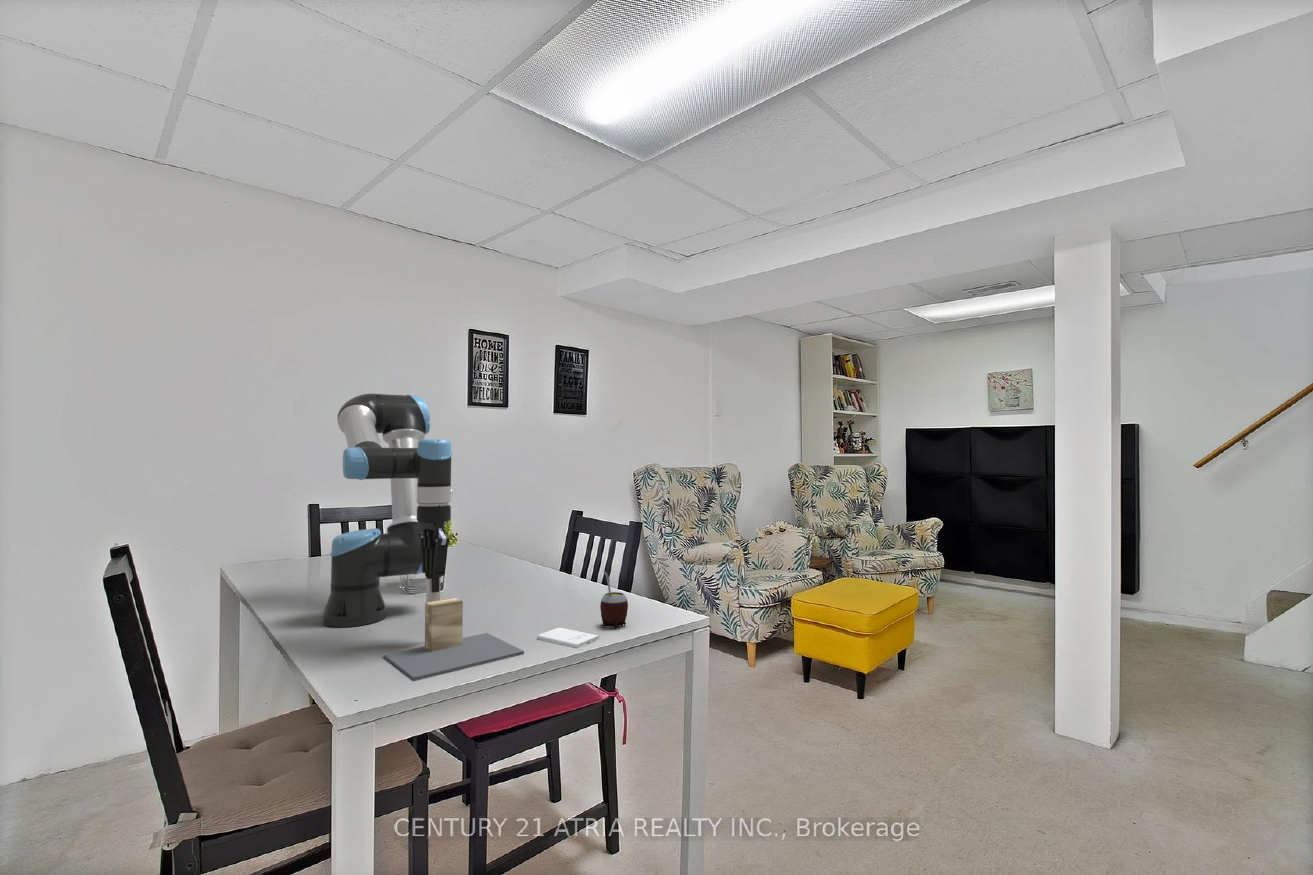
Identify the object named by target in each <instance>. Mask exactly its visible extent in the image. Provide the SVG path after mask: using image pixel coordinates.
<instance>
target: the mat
mask: <svg viewBox="0 0 1313 875" xmlns="http://www.w3.org/2000/svg"><path fill="white" fill-rule="evenodd" d="M524 654H525V650H524V649H521V648H519V647H517V646H515V645H512V644H511V643H509V642H506V641H505V640H502V639H501V638H499V637H496V636H494V635H493V634H490V633H488V632H485V633H480V634H475V635H469V636H466V637H462V645H460V646H455V647H451V648H446V649H442V650H437V651H432V652H431V651H430V650H428V649H427V648H425V645H422V646H418V647H417V646H416V647H414V648H408V649H404V650H398V651H393V652H389V653H384V654H383V658H384V659H385V660H387V662H389V663H390V664H391V665H393V666H395V668H397V669H398V670H399V671H401V672H402V673H404V675H406V676H407V677H409V678H410V679H411V680H413V681H418V680H423V679H427V678H430V677H436V676H439V675H443V674H447V673H451V672H455V671H460V670H463V669H467V668H471V667H476V666H479V665H483V664H488V663H491V662H492V663H493V662H496V661H499V660H504V659H508V658H512V657H516V656H520V655H524Z"/></svg>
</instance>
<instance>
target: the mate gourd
mask: <svg viewBox="0 0 1313 875" xmlns="http://www.w3.org/2000/svg"><path fill="white" fill-rule="evenodd" d="M603 574H604V575H605V577H606V578H605V579H606V584H607V589H608V592H607V593H604V595H603V596H602V597H601V600H600V606H599V608H600V617H601V621H602V624H601V627H602V626H603V627H602V628H607V627H606V626H611V627H613V626H614V627H615V628H620V626H618V625H621V626H624V625H623V624H626V625H627V622H626V619H627V616H628V610H629V603H628V597H627V596H626V594H624V593H623V592H617V591H615V592H613V591H612V590H611V584H610V576H609V575H608V573H607V572H606V570H603ZM611 591H612V592H611ZM614 627H613V628H614ZM615 628H614V629H615Z"/></svg>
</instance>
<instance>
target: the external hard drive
mask: <svg viewBox="0 0 1313 875" xmlns="http://www.w3.org/2000/svg"><path fill="white" fill-rule="evenodd" d="M600 637H601V636H600V635H598V634H592V633H587V632H584V631H583V632H582V631H578V630H573V629H569V628H568V629H567V628H564V627H555V628H554V629H551V630H549V631H545V632H542V633H540V634H538V635H537V640H538V639H539V640H538V641H543V642H547V641H550V642H549V643H552V642H553V644H556V643H558V644H557V645H561V644H565V645H569V646H568V647H570V646H572V647H571V648H575V647H576V648H575V649H579V647H580V646H582V645H584V644H587V643H588V644H590V643H589V642H591V641H594V642H596V641H598V640H599V639H598V638H600ZM597 639H598V640H597ZM600 639H601V638H600ZM595 640H596V641H595ZM591 643H592V642H591ZM588 644H587V645H588ZM565 645H564V646H565ZM584 646H585V645H584ZM582 647H583V646H582ZM580 648H581V647H580Z"/></svg>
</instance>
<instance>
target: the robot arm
mask: <svg viewBox="0 0 1313 875" xmlns="http://www.w3.org/2000/svg"><path fill="white" fill-rule="evenodd" d="M336 421H337V424H338V425H337V426H338V428H339V430H340V431H341V432H342V433H343V434H344V436H345V440H346V444H347V448H345V449H344V450H343V455H342V475H343V477H344V478H345V479H348V480H359V481H364V480H384V479H385V480H386V479H388V480H390V493H391V494H390V495H391V513H392V514H391V516H392V517H391V518H392V522H391V523H390V524H389V525H388V526H387V528H386V533H382V531H381V530H380V529H379V528H369V529H368V528H365V529H358V530H353V531H352V530H351V531H348V532H344V533H342V534H339V535H336V536H335V537H334V538H333V539H332V541H331V552H330V557H331V562H330V563H331V564H330V571H331V572H330V593H329V597H328V599H327V602H326V604H325V607H324V609H323V614H322V624H323V625H324V626H328V627H333V628H334V627H335V628H346V627H347V628H348V627H350V628H351V627H357V626H365V625H369V624H373V623H377V622H380V621H382V620H384V619H385V618H386V617H387V606H386V603H385V600H384V597H383V595H382V592H381V591H382V590H381V589H380V580H381V579H380V578H387V577H389V578H390V577H396V576H397V577H398V576H407V575H418V574H424V575H425V581H426V584H425V588H426V590H425V592H426V593H425V602H432V601H438V600H441V578H442V577H444V576H445V574H446V567H447V557H448V547H449V543H450V540H451V538H450V536H449V535H446V528H445V523H446V522H449V521H450V520H451V517H452V507H451V505H450V504H449V503H451V502H452V501H451V499H452V494H453V489H452V457H453V452H452V443H451V441H450V440H449V439H446V438H445V439H444V438H442V439H441V438H438V439H437V438H426V434H428V433H430V430H431V416H430V410H429V405H428V402H427V401H426V400H425V399H424V398H423V397H422V396H419V395H418V396H417V395H411V394H406V395H405V394H404V395H403V394H402V395H401V394H383V393H382V394H381V393H364V394H360V395H357V396H354V397H352V398H351V399H349V400H347V401H346V402H345V403H344V404H343V405H342V406H341V407H340V409H339V410H338V412H337V420H336ZM378 434H382V440H383V442H385V443H387V444H388V447H383V445H382V442H381V440H380V437H379V435H378Z"/></svg>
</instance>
